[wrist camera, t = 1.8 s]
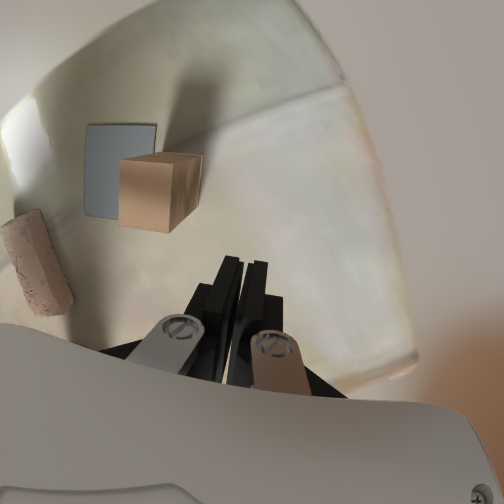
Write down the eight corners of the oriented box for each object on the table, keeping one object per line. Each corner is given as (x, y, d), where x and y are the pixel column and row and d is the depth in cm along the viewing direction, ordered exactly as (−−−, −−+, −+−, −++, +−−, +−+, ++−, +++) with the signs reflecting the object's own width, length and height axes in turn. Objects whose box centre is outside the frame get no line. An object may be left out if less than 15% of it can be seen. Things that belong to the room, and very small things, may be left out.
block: (197, 206, 34) (168, 233, 25) (158, 201, 35) (118, 225, 25) (203, 155, 32) (173, 164, 23) (161, 151, 32) (120, 160, 23)
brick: (13, 218, 38) (-5, 227, 33) (41, 205, 36) (21, 214, 32) (48, 305, 44) (33, 319, 39) (78, 302, 42) (63, 317, 38)
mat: (149, 223, 36) (149, 224, 35) (85, 214, 36) (84, 214, 36) (156, 126, 31) (155, 126, 31) (88, 125, 31) (87, 125, 31)
